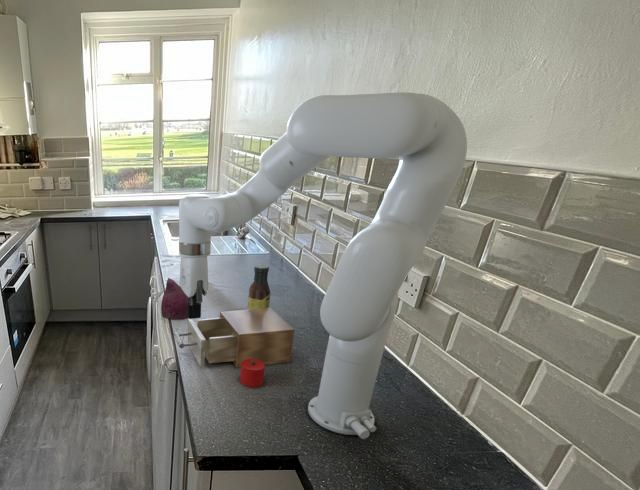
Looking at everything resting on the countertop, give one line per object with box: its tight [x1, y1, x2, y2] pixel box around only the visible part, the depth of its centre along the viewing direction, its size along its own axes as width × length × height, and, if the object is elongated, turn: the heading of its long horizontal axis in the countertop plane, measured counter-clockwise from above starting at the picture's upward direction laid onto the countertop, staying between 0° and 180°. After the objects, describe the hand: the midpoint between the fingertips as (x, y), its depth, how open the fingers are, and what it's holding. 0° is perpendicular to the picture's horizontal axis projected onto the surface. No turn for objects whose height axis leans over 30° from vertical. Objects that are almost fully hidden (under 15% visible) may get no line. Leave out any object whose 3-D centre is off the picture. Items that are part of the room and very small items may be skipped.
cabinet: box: [219, 306, 296, 368], centre depth 110 cm, size 15×15×10 cm
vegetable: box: [160, 277, 188, 320], centre depth 134 cm, size 10×10×15 cm
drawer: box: [173, 317, 238, 368], centre depth 109 cm, size 18×14×8 cm
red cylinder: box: [239, 359, 266, 388], centre depth 98 cm, size 5×5×6 cm
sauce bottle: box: [247, 264, 271, 309], centre depth 121 cm, size 6×6×20 cm
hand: (194, 317), depth 104 cm, fingers closed
